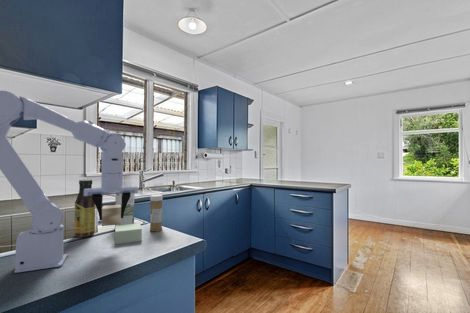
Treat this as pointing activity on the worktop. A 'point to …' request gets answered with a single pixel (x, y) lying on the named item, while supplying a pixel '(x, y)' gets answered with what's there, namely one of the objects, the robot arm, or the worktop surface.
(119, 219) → the birch cube
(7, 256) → the worktop surface
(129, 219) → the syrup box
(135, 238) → the sage block
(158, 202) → the sprinkles bottle
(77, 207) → the sauce bottle
